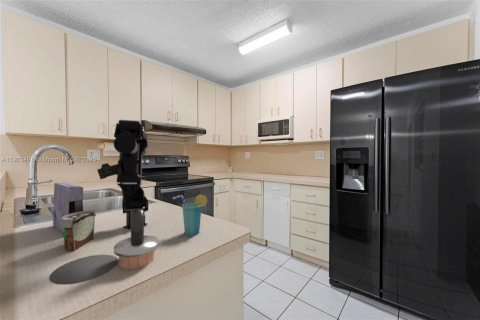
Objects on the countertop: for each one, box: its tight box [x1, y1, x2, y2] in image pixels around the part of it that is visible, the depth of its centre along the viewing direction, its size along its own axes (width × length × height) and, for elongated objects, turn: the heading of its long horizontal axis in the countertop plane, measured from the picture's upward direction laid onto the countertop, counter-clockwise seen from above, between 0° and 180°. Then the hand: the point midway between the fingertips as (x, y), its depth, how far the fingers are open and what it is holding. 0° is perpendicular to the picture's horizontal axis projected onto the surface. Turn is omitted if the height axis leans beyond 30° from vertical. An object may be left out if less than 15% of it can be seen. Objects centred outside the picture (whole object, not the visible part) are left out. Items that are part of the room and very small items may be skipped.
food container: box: [59, 210, 97, 252], centre depth 68 cm, size 12×6×10 cm, turn 5°
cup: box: [171, 194, 208, 236], centre depth 79 cm, size 14×8×15 cm, turn 136°
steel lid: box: [113, 209, 160, 257], centre depth 58 cm, size 11×11×10 cm
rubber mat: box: [48, 254, 119, 285], centre depth 54 cm, size 14×14×1 cm
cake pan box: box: [52, 181, 84, 233], centre depth 82 cm, size 19×5×18 cm, turn 54°
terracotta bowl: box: [118, 249, 156, 270], centre depth 58 cm, size 8×8×4 cm
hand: (126, 205), depth 69 cm, fingers open, 9 cm apart
